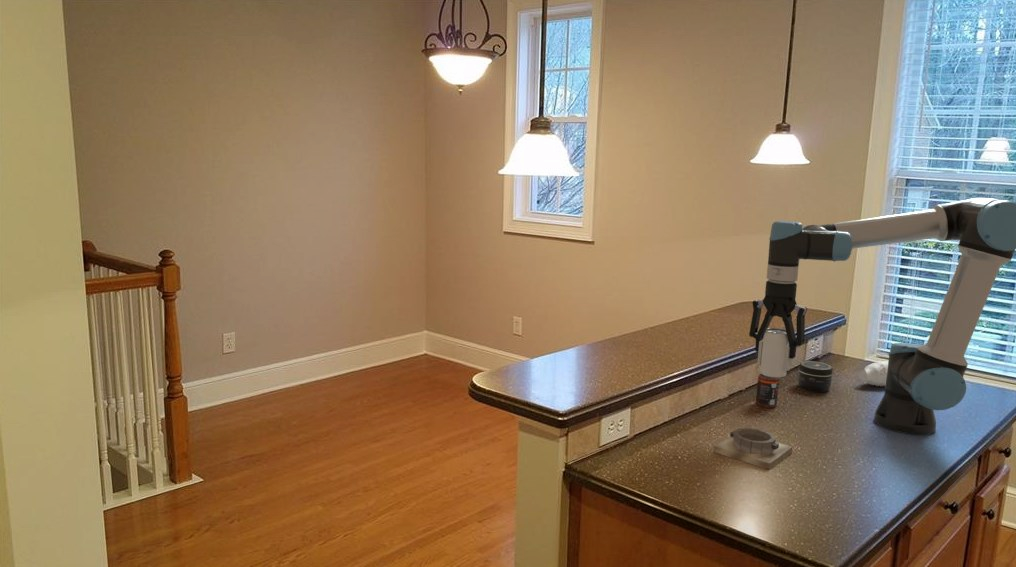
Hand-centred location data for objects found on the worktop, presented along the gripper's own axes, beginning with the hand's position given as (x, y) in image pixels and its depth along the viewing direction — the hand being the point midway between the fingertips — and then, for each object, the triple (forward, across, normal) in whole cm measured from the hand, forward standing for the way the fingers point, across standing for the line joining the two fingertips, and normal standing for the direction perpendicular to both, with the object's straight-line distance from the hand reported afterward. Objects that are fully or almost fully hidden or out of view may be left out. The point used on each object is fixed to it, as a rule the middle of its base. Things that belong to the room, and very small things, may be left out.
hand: (773, 366), depth 195 cm
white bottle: (+18, +12, +68) cm, 71 cm away
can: (+2, 0, 0) cm, 2 cm away
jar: (+18, -4, +47) cm, 50 cm away
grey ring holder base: (+17, +4, -18) cm, 25 cm away
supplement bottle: (+18, -8, +19) cm, 27 cm away
